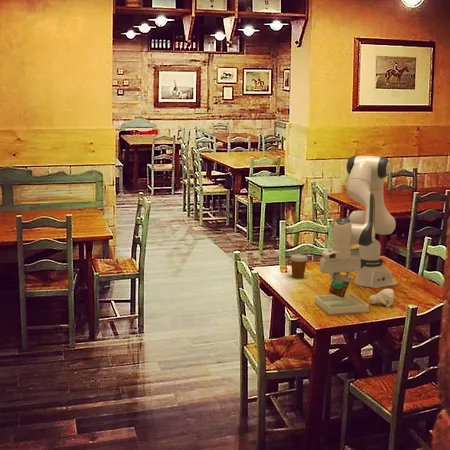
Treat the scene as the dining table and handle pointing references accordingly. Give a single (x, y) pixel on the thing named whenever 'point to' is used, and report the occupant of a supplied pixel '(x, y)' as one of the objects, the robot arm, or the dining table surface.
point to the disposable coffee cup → (298, 265)
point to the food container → (339, 285)
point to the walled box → (341, 304)
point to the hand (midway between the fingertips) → (339, 280)
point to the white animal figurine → (383, 297)
